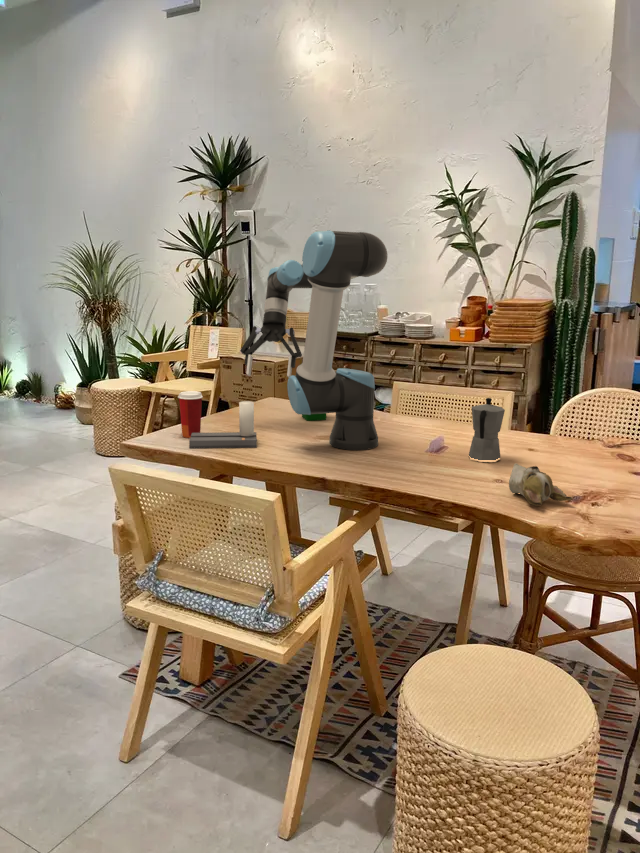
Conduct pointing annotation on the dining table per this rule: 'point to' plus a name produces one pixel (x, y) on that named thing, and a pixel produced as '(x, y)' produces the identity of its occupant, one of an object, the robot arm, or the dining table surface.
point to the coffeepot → (486, 431)
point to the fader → (246, 418)
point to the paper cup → (190, 412)
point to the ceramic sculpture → (534, 485)
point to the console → (222, 440)
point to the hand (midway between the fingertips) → (268, 376)
